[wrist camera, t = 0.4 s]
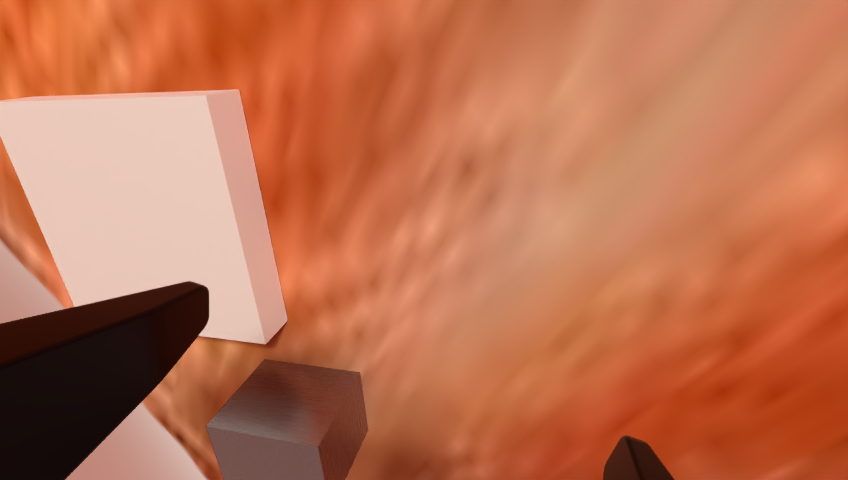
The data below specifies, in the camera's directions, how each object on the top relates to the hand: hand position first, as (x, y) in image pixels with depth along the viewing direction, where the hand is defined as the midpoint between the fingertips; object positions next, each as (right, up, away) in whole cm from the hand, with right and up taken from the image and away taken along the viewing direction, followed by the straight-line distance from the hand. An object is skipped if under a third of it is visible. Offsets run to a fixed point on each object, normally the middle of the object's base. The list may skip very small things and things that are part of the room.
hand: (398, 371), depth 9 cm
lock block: (-7, -8, +22) cm, 24 cm away
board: (-15, +4, +18) cm, 24 cm away
